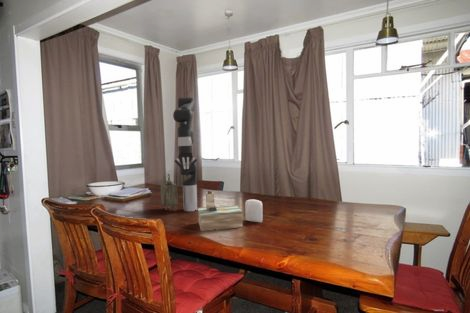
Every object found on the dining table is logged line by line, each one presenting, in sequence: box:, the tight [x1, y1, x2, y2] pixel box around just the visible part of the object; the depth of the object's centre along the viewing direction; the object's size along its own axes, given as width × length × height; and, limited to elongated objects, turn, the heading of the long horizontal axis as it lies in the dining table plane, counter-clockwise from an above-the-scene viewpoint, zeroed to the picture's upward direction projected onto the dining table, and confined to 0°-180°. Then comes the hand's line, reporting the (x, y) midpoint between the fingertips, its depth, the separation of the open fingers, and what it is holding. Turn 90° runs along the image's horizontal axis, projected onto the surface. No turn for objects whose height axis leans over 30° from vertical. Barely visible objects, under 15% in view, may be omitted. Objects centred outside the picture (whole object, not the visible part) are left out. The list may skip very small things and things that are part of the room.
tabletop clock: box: [160, 173, 179, 212], centre depth 192 cm, size 14×9×25 cm, turn 22°
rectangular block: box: [197, 204, 244, 232], centre depth 155 cm, size 16×23×10 cm
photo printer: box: [244, 198, 264, 223], centre depth 161 cm, size 10×4×12 cm, turn 60°
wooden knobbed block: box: [205, 190, 215, 211], centre depth 154 cm, size 4×4×10 cm
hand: (186, 175), depth 160 cm, fingers closed
